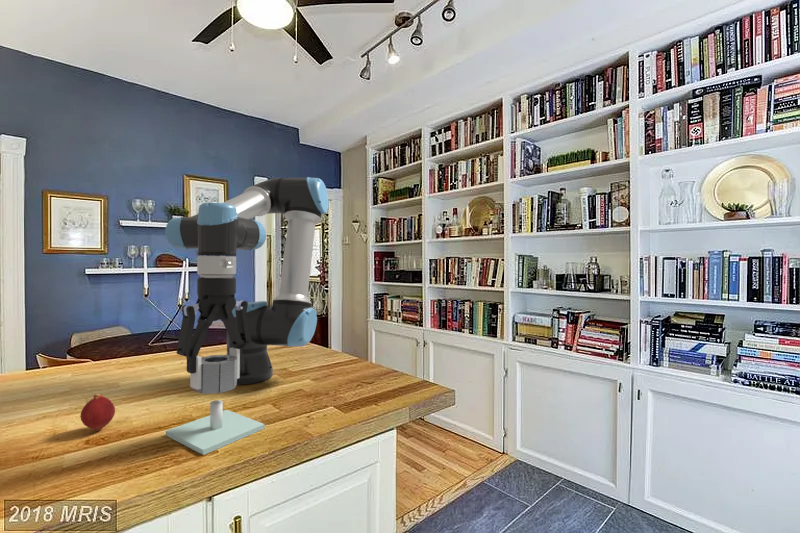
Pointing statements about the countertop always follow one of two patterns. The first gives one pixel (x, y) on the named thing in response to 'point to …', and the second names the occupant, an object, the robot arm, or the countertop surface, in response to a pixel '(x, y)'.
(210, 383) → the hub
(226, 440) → the post block
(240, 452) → the countertop surface
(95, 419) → the onion
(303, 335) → the robot arm
